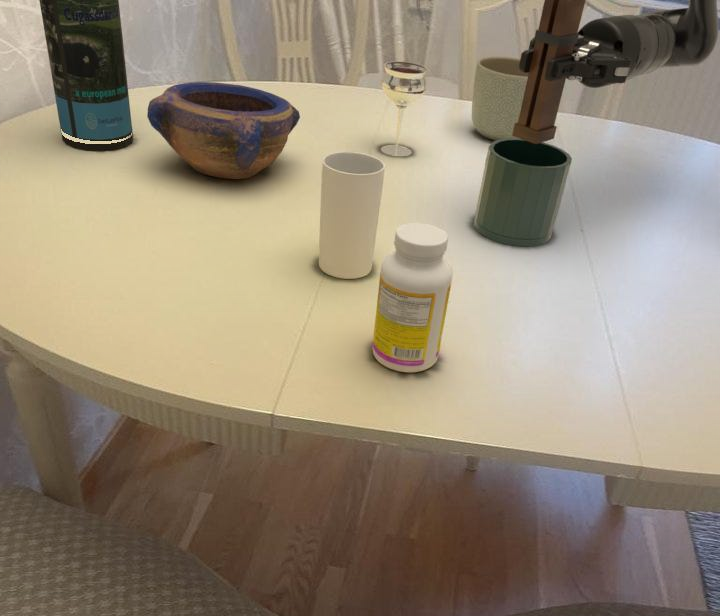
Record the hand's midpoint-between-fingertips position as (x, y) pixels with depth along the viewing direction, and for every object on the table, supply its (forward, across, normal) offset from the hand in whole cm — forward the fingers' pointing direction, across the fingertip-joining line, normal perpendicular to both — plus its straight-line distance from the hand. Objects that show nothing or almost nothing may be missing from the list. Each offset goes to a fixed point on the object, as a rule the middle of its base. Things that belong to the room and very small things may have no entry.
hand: (536, 66), depth 86 cm
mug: (+22, -5, +20) cm, 31 cm away
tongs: (-3, 0, +8) cm, 9 cm away
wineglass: (-11, -29, +20) cm, 37 cm away
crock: (-3, 0, +20) cm, 20 cm away
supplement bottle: (+32, +13, +20) cm, 40 cm away
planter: (-33, -25, +20) cm, 46 cm away
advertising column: (+26, -55, +20) cm, 65 cm away
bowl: (+16, -37, +20) cm, 45 cm away
